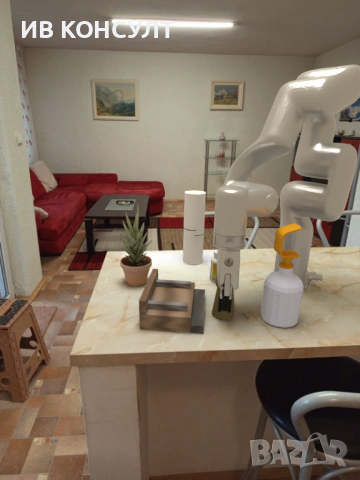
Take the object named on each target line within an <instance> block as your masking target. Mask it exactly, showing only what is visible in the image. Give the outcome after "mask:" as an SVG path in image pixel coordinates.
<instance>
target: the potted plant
mask: <svg viewBox="0 0 360 480" xmlns="http://www.w3.org/2000/svg"><path fill="white" fill-rule="evenodd" d="M136 207H137V208H136V209H137V211H136V214H135V220H134V224H133V226H132V223H131V221H130V219H129V216H128V213H127V212H125V217H126V223H127V225H126V224H125V222H124V220H122V225H123V227H124V228H123V229H124V231H125V232H126V235H127V238H125V237H124V236H123V235H122V234H121V233H120V234H119V238H120V241H121V243H122V244H123V245H124V247H122V250H124V252H125V253H126V254H124V255H125V256H123V257H121V258H120V260H119V265H120V268H121V269H122V271H123V274H124V277H125V280H126V284H128V285H129V286H132V287H141V286H144V285H146V283H147V281H148V275H149V272H150V270H151V268H152V265H153V259H152V257H150V256H149V255H147V252H145V251H146V250H147V247H148V246H149V245H150V244H151V243H152V242H153V240H150V241H149V242H148V243H147V241H145V239H146V238H147V234H148V232H146V233H145V234H144V230H145V222H143V223H142V225H141V227H140V230H139V220H140V219H139V218H140V214H139V213H140V210H139V209H140V208H139V204H137V206H136ZM143 234H144V235H143ZM144 241H145V243H144Z"/></svg>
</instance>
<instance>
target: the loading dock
mask: <svg viewBox="0 0 360 480" xmlns="http://www.w3.org/2000/svg"><path fill="white" fill-rule="evenodd" d="M205 297H206V289H204V288H202V289H201V288H200V289H199V288H196V282H194V281H193V282H192V281H189V280H172V279H159V268H152V270H151V272H150V274H149V277H148V278H147V282H146V283H145V286H144V288H143V290H142V293H141V295H140V298H139V299H138V317H139V319H138V320H139V321H138V322H139V324H138V325H139V329H140V330H151V331H164V332H178V333H189V334H190V333H191V334H202V335H203V334H204V321H205V319H204V318H205V302H206V298H205Z"/></svg>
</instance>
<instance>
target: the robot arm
mask: <svg viewBox="0 0 360 480" xmlns="http://www.w3.org/2000/svg"><path fill="white" fill-rule="evenodd" d="M359 99H360V65H359V64H346V65H339V66H332V67H331V66H330V67H323V68H316V69H311V70H308V71H304V72H302V73H300V74H299V75H298V76H297V78H296V79H295V80H290V81H287V82H285V83H284V84H283V85H282V86H281V87H280V88H279V90H278V92H277V94H276V95H275V98H274V101H273V104H272V106H271V108H270V111H269V114H268V115H267V118H266V121H265V123H264V125H263V127H262V129H261V133H260V135H259V137H258V138H257V139H256V140H255V142H253V143H252V144H250V145H249V146H248V147H247V148H246V149H244V150H243V152H241V154H240V155H238V156H237V158H236V159H235V160H234V161H233V162H232V164H231V166H230V168H229V170H228V172H227V175H226V177H225V180H224V183H223V185H222V186H220V187H219V188H218V189H216V192H215V197H214V198H215V203H214V220H213V221H214V222H213V234H212V236H213V237H212V245H213V247H214V248H216V250H217V280H218V287H219V288H220V297H219V300H218V312H221V311H227V312H228V313H230V312H231V304H232V298H231V296H232V286H233V289H234V290H236V291H237V290H238V289H239V287H240V286H239V282H240V269H241V268H240V266H241V265H240V264H241V250H242V249H245V246H246V236H247V235H246V234H247V226H248V225H247V224H248V218H262V217H267V216H269V215H271V214H273V213H274V212H275V211H276V209H277V207H278V205H279V207H280V222H279V228H280V227H283V226H286V225H289V224H293V223H295V224H297V225H299V226H300V227H301V228H302V229H301V230H299V231H296V232H293V233H290V234H287V235H286V236H285V237H284V241H283V248H282V250H294V251H296V252H297V253H298V254H299V255H300V257H299V258H294V259H293V260H291V263H292V264H293V265H294V267H293V274H294V275H296V276H297V277H298V278H299V279H300V280H301V281H302V283H303V292H304V291H307V290H309V288H310V287H311V282H312V281H317V282H322V281H323V279H324V278H323V277H324V276H323V274H317V273H316V271H309V270H308V266H309V260H310V254H311V248H312V243H313V237H314V225H313V223H312V220H311V219H315V220H320V221H323V222H325V221H326V222H335V221H337V220H339V219H340V218H341V216H342V215H343V213H344V210H345V209H346V205H347V202H348V199H349V195H350V191H351V189H352V185H353V182H354V178H355V174H356V171H357V166H358V158H359V157H358V152H357V149H356V148H355V146H353V145H352V144H349V143H344V142H334V139H335V138H334V137H335V134H336V130H337V121H336V117H335V116H334V115H336V114H338V113H340V112H341V111H343V110H344V109H347V108H348V107H350V106H351V105H353V104H354V103H356V101H358V100H359ZM300 133H301V134H300ZM299 134H300V138H299V141H298V146H297V148H296V149H297V150H296V153H295V158H294V162H293V163H294V165H293V168H294V172H295V173H296V174H298V175H299V176H302V177H309V178H312V179H313V178H315V179H319V180H321V179H323V180H327V184H326V183H325V184H323V183H318V182H312V181H306V180H305V181H304V180H293V181H289V182H287V183H286V184H285V185H283V187H282V189H281V191H280V195H279V194H278V192H277V191H276V190H275V188H273V187H272V186H269V185H266V184H261V183H255V182H251V181H248V180H249V178H250V176H251V175H252V173H254V171H255V170H257V169H258V168H259V167H260V166H262V165H264V164H267V163H269V162H271V161H274V160H276V159H279V158H281V157H284V156H286V155H288V154H290V153H291V152H292V151H293V150H294V148H295V145H296V142H297V140H298V137H299ZM275 252H276V251H275ZM274 260H275V261H274V269H273V272H277V271H278V269H279V263H280V262H283V259H282V258H281V256H280V255H279V254H278V253H277V252H276V253H275V259H274ZM273 272H270V273H269V274H268V275H270V274H272V273H273ZM224 277H225V278H224ZM222 284H224V286H222ZM223 289H224V292H223V293H222V291H223Z"/></svg>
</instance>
